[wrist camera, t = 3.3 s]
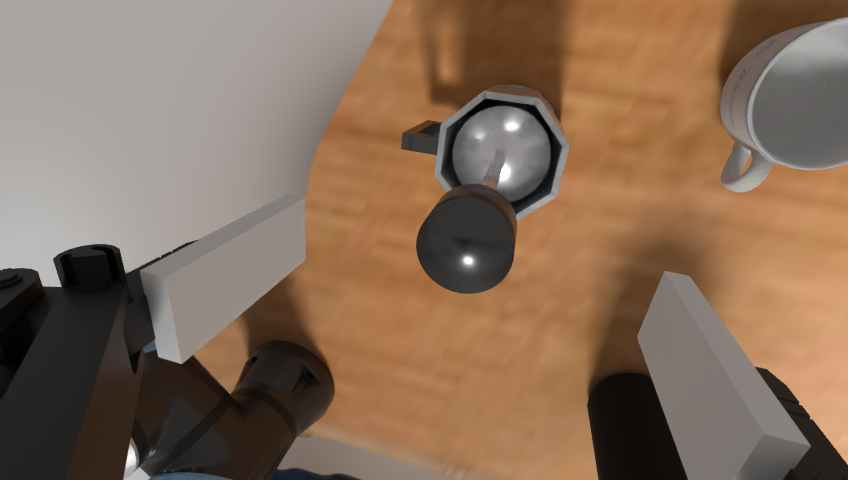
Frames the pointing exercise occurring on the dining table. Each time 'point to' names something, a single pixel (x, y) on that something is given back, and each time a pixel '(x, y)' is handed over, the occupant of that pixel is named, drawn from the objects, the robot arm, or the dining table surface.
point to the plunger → (484, 200)
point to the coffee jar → (632, 431)
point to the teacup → (788, 104)
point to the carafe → (443, 135)
